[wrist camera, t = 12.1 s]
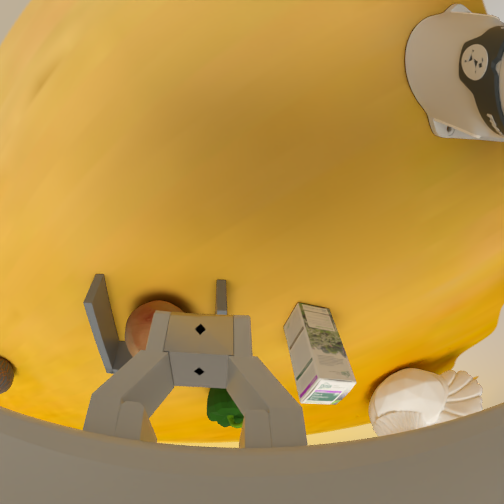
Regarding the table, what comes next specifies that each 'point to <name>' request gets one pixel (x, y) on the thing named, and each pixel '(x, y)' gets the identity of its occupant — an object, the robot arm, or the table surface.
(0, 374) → the vase
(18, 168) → the table surface
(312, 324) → the syrup box
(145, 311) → the onion
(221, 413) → the bell pepper
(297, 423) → the robot arm
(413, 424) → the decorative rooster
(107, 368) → the box
